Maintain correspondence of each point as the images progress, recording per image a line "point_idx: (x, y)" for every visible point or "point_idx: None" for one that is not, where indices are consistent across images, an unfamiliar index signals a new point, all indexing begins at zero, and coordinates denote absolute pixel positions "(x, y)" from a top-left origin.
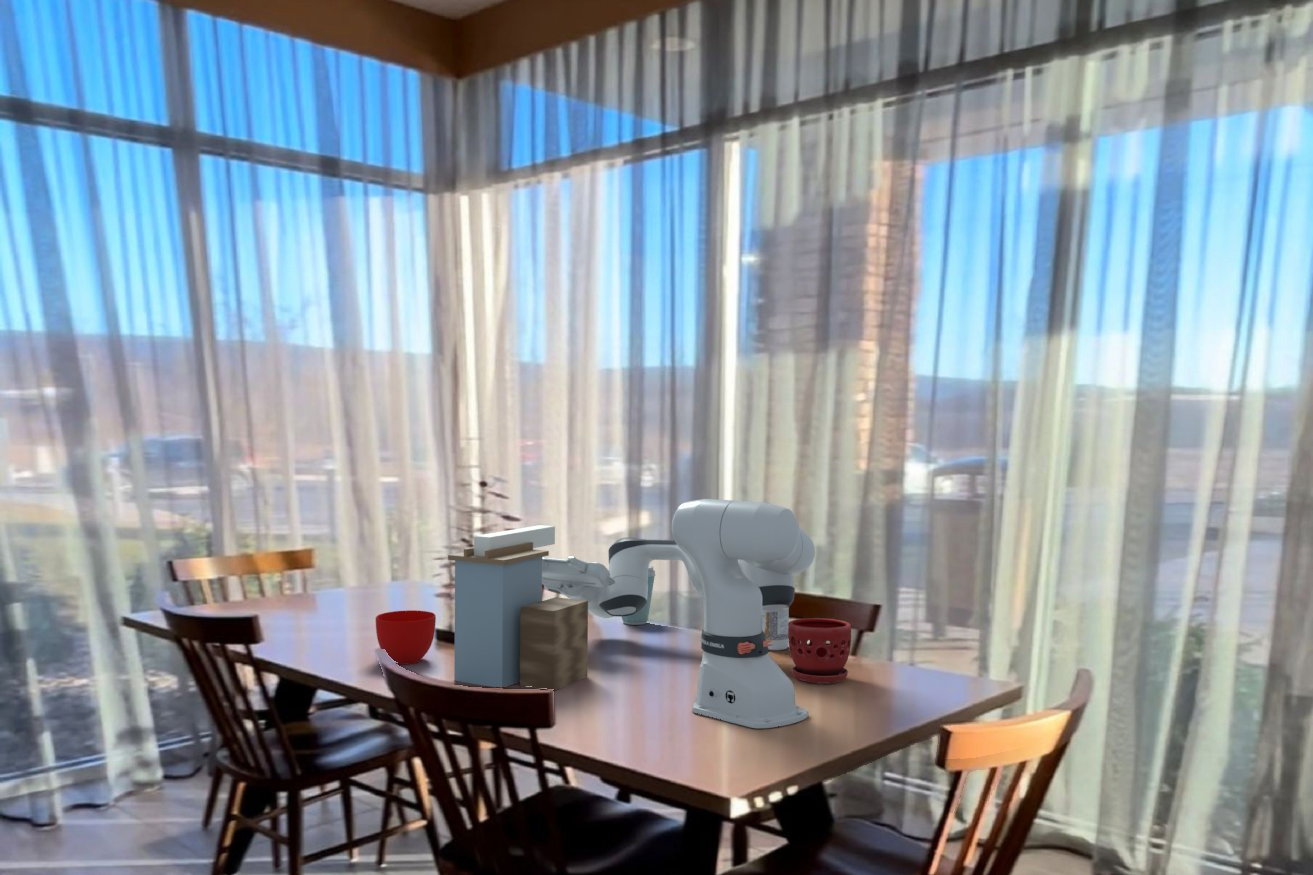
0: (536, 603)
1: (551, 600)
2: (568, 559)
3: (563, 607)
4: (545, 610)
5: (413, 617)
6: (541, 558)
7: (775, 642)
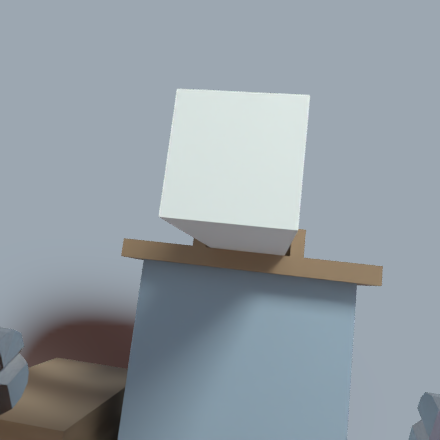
0: (117, 387)
1: (75, 404)
2: (13, 352)
3: (32, 369)
4: (78, 362)
5: None
6: (143, 268)
7: None
